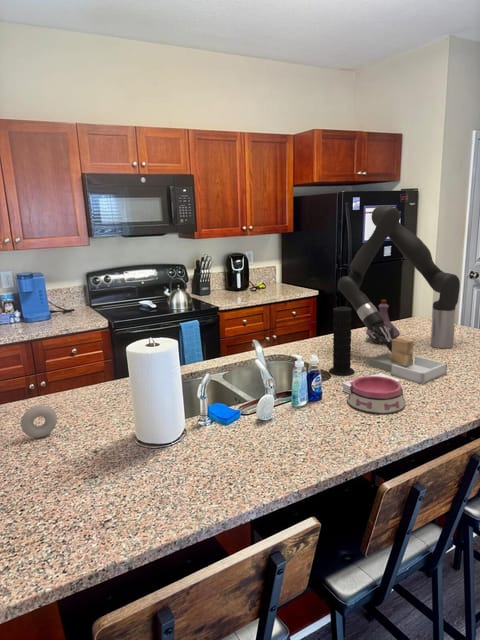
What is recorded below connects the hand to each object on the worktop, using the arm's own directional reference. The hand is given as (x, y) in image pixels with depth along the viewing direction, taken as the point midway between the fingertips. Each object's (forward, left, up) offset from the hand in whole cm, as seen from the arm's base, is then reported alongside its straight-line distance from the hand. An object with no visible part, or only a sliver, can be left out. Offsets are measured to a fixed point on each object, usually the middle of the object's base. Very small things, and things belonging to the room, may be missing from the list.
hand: (394, 350), depth 176 cm
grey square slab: (0, -1, -7) cm, 7 cm away
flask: (-27, -25, -7) cm, 38 cm away
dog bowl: (+33, +16, -7) cm, 37 cm away
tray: (0, +11, -7) cm, 13 cm away
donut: (+126, -33, -7) cm, 131 cm away
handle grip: (+19, -10, -7) cm, 23 cm away
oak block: (0, +3, -4) cm, 5 cm away
